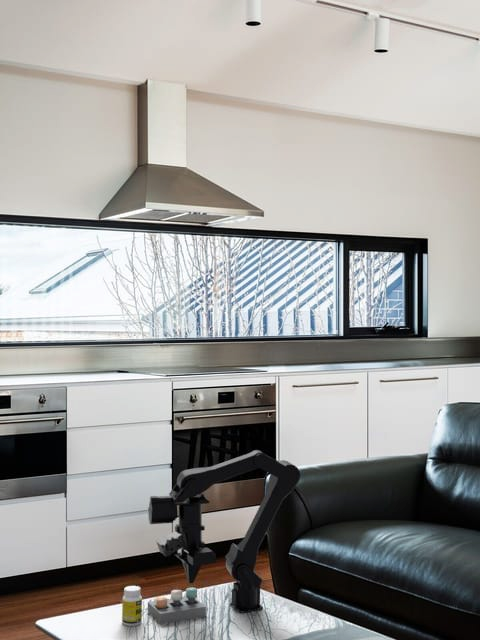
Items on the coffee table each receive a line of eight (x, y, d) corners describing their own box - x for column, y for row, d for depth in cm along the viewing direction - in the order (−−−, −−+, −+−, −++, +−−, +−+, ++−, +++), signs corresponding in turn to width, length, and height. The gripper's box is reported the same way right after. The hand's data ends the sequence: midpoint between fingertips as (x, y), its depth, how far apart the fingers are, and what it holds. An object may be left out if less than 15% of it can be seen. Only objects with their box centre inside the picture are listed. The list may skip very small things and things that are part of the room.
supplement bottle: (138, 627, 205) (138, 592, 205) (119, 625, 206) (119, 590, 206) (144, 619, 210) (144, 585, 210) (125, 618, 211) (126, 584, 211)
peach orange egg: (164, 612, 214) (164, 596, 214) (168, 616, 212) (169, 600, 212) (154, 614, 213) (154, 598, 213) (158, 617, 210) (158, 601, 210)
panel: (191, 604, 221) (191, 595, 221) (205, 616, 213) (205, 606, 213) (147, 611, 215) (147, 601, 215) (160, 623, 207) (160, 613, 207)
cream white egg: (179, 604, 216) (179, 589, 216) (183, 608, 213) (184, 592, 213) (169, 606, 215) (169, 590, 215) (173, 610, 212) (173, 594, 212)
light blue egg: (194, 602, 218) (194, 586, 218) (198, 606, 215) (198, 590, 215) (184, 604, 216) (184, 588, 216) (188, 607, 214) (188, 591, 214)
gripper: (147, 516, 220) (147, 577, 220) (174, 534, 203) (174, 599, 204) (187, 511, 225) (187, 570, 225) (216, 528, 208) (217, 592, 208)
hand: (190, 583), depth 215 cm, fingers closed
